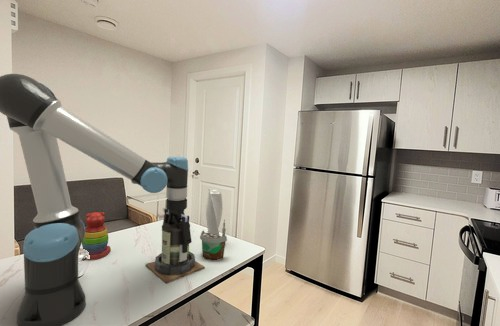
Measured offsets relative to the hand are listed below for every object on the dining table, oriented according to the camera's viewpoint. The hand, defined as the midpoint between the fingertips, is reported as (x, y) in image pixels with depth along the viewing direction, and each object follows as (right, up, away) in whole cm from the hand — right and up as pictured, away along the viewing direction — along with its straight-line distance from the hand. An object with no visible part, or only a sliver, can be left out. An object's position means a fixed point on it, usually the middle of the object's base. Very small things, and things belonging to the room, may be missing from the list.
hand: (175, 255), depth 100 cm
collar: (0, -5, 0) cm, 5 cm away
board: (0, -5, 0) cm, 5 cm away
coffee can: (0, -2, 0) cm, 2 cm away
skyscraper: (+11, -4, +23) cm, 26 cm away
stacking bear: (-35, -3, +8) cm, 36 cm away
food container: (+12, -5, +10) cm, 16 cm away
